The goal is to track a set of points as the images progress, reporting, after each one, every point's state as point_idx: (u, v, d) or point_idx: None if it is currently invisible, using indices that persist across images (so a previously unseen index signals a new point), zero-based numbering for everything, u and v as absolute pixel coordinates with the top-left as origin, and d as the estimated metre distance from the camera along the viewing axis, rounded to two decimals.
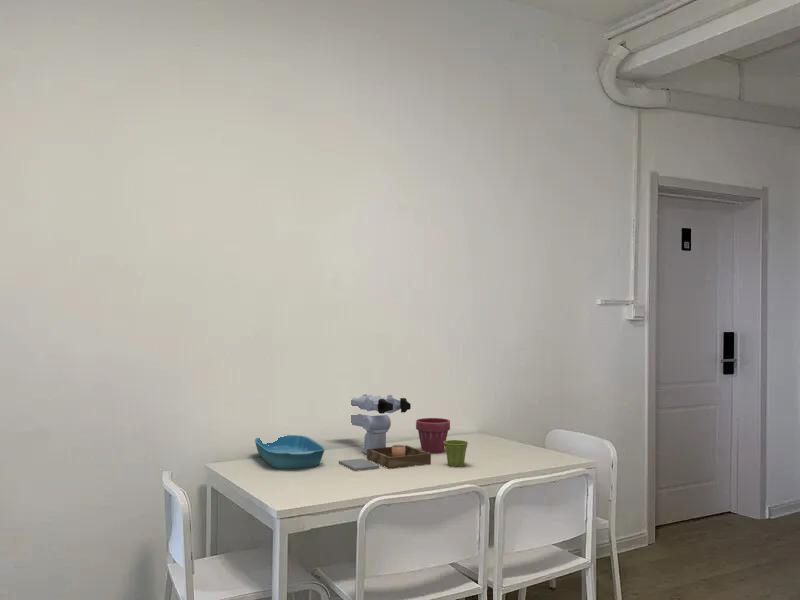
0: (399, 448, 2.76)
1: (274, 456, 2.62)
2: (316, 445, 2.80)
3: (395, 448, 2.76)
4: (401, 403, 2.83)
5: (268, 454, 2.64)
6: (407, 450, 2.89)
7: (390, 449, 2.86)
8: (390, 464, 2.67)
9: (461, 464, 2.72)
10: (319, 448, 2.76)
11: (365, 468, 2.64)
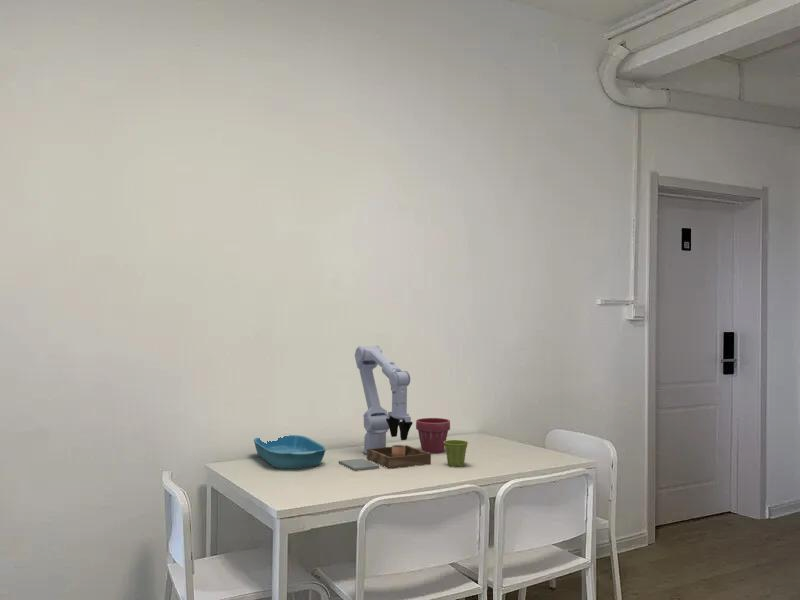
0: (399, 448, 2.76)
1: (276, 456, 2.62)
2: (316, 445, 2.80)
3: (395, 448, 2.76)
4: (396, 420, 2.82)
5: (270, 454, 2.64)
6: (407, 450, 2.89)
7: (390, 449, 2.86)
8: (390, 464, 2.67)
9: (461, 464, 2.72)
10: (319, 448, 2.77)
11: (365, 468, 2.64)
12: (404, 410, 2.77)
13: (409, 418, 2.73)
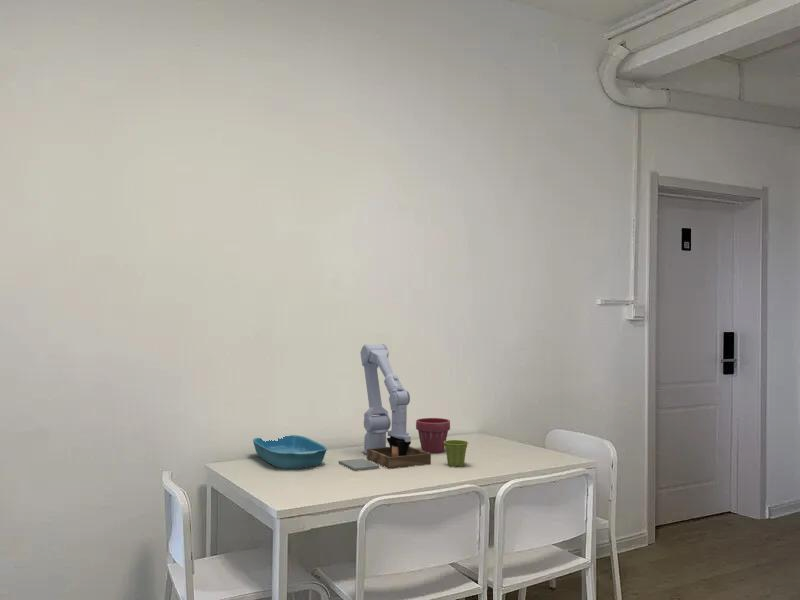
0: None
1: (278, 456, 2.62)
2: (316, 445, 2.81)
3: (395, 448, 2.76)
4: (396, 440, 2.82)
5: (271, 454, 2.64)
6: (407, 450, 2.89)
7: (390, 449, 2.86)
8: (390, 464, 2.67)
9: (461, 464, 2.72)
10: (320, 447, 2.77)
11: (365, 468, 2.64)
12: (404, 429, 2.77)
13: (409, 438, 2.73)
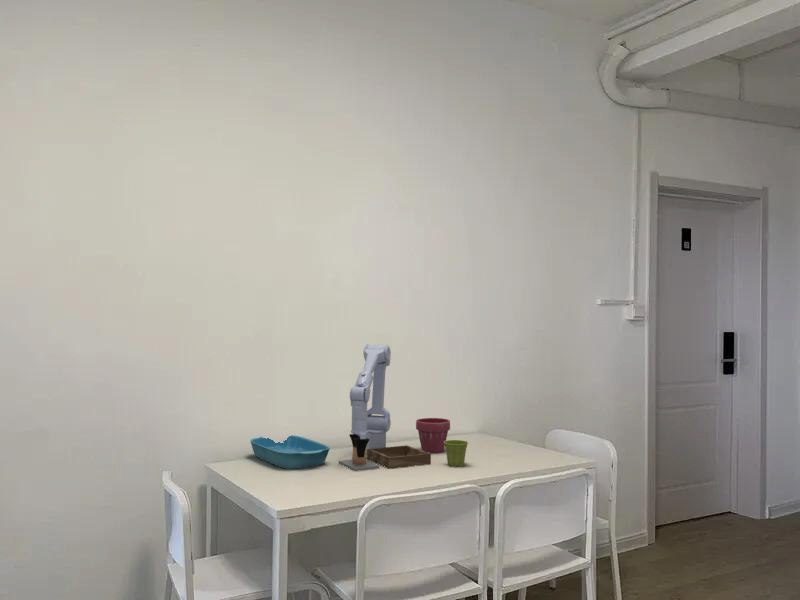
0: None
1: (284, 456, 2.62)
2: (315, 444, 2.82)
3: (354, 449, 2.69)
4: (359, 436, 2.74)
5: (277, 455, 2.64)
6: (407, 450, 2.89)
7: (390, 449, 2.86)
8: (390, 464, 2.67)
9: (461, 464, 2.72)
10: (320, 447, 2.79)
11: (365, 468, 2.64)
12: (362, 426, 2.68)
13: (364, 435, 2.64)
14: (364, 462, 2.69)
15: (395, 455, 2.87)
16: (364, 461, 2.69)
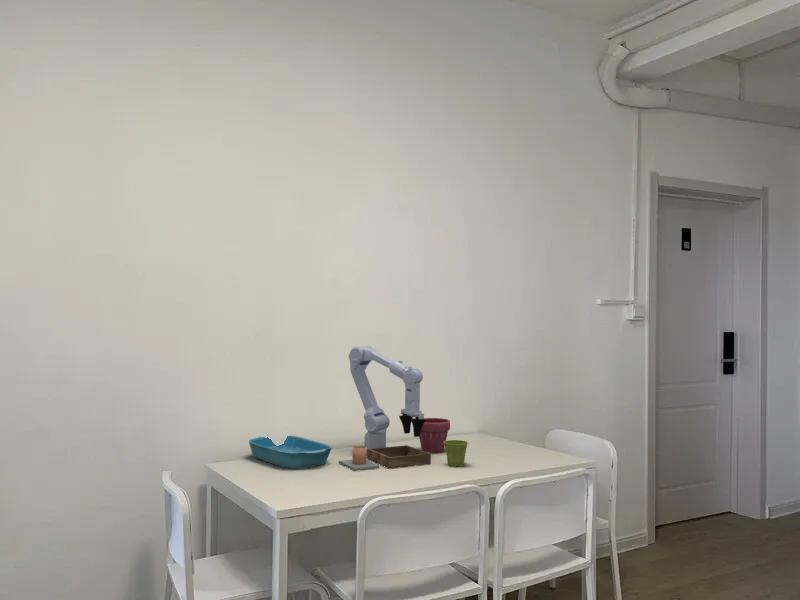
0: (358, 449, 2.68)
1: (289, 456, 2.62)
2: (315, 443, 2.83)
3: (354, 449, 2.69)
4: (409, 417, 2.88)
5: (281, 455, 2.63)
6: (407, 450, 2.89)
7: (390, 449, 2.86)
8: (390, 464, 2.67)
9: (461, 464, 2.72)
10: (321, 446, 2.80)
11: (365, 468, 2.64)
12: (417, 407, 2.82)
13: (422, 415, 2.78)
14: (364, 462, 2.69)
15: (395, 455, 2.87)
16: (364, 461, 2.69)
